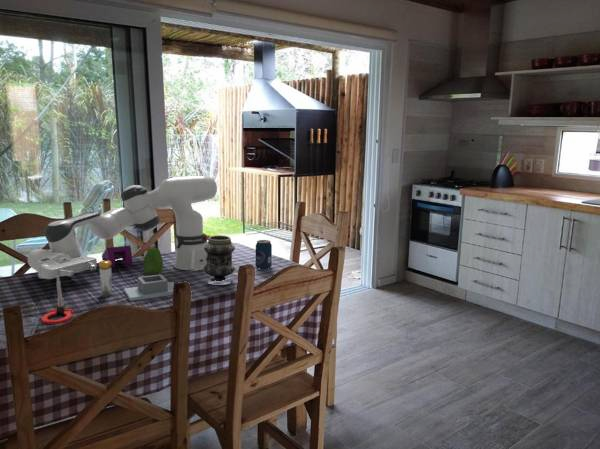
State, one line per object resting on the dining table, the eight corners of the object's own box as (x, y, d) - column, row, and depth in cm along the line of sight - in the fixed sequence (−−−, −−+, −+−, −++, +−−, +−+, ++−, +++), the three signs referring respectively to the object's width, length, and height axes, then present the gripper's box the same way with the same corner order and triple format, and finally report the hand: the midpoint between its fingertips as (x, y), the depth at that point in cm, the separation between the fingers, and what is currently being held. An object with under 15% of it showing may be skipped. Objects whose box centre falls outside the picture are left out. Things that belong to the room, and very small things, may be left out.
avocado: (166, 276, 196) (165, 247, 193) (148, 280, 191) (147, 250, 188) (157, 272, 202) (157, 244, 199) (139, 275, 196) (138, 246, 194)
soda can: (252, 268, 210) (252, 241, 208) (262, 265, 216) (262, 238, 213) (264, 271, 206) (265, 244, 204) (274, 268, 212) (275, 241, 210)
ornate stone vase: (239, 284, 188) (240, 239, 185) (210, 288, 182) (209, 242, 179) (227, 276, 199) (227, 233, 195) (199, 280, 192) (198, 235, 189)
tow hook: (66, 325, 148) (76, 312, 156) (63, 285, 144) (72, 274, 153) (37, 326, 146) (48, 313, 155) (32, 285, 143) (44, 275, 152)
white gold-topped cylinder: (111, 292, 176) (110, 260, 174) (113, 295, 173) (112, 262, 170) (99, 293, 174) (98, 261, 172) (101, 297, 171) (99, 264, 168)
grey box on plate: (173, 284, 186) (172, 271, 185) (181, 293, 176) (181, 279, 175) (124, 291, 177) (123, 278, 176) (130, 301, 168) (129, 286, 167)
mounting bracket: (102, 275, 215) (109, 267, 200) (100, 257, 216) (106, 247, 201) (125, 272, 220) (133, 264, 205) (122, 254, 221) (130, 245, 206)
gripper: (84, 266, 194) (107, 272, 187) (34, 279, 177) (58, 285, 170) (83, 251, 193) (106, 256, 186) (33, 262, 176) (57, 268, 169)
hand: (83, 270), depth 178 cm, fingers open, 8 cm apart
